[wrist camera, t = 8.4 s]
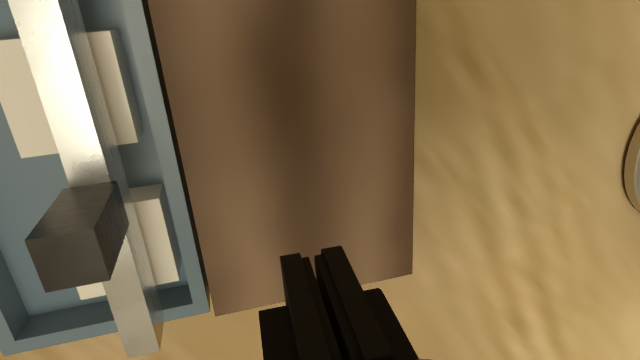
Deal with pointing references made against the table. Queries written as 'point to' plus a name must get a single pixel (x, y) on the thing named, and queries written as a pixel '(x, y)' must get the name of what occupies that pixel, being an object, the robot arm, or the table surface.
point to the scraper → (86, 179)
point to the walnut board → (292, 135)
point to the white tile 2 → (150, 238)
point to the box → (50, 179)
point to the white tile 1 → (26, 107)
